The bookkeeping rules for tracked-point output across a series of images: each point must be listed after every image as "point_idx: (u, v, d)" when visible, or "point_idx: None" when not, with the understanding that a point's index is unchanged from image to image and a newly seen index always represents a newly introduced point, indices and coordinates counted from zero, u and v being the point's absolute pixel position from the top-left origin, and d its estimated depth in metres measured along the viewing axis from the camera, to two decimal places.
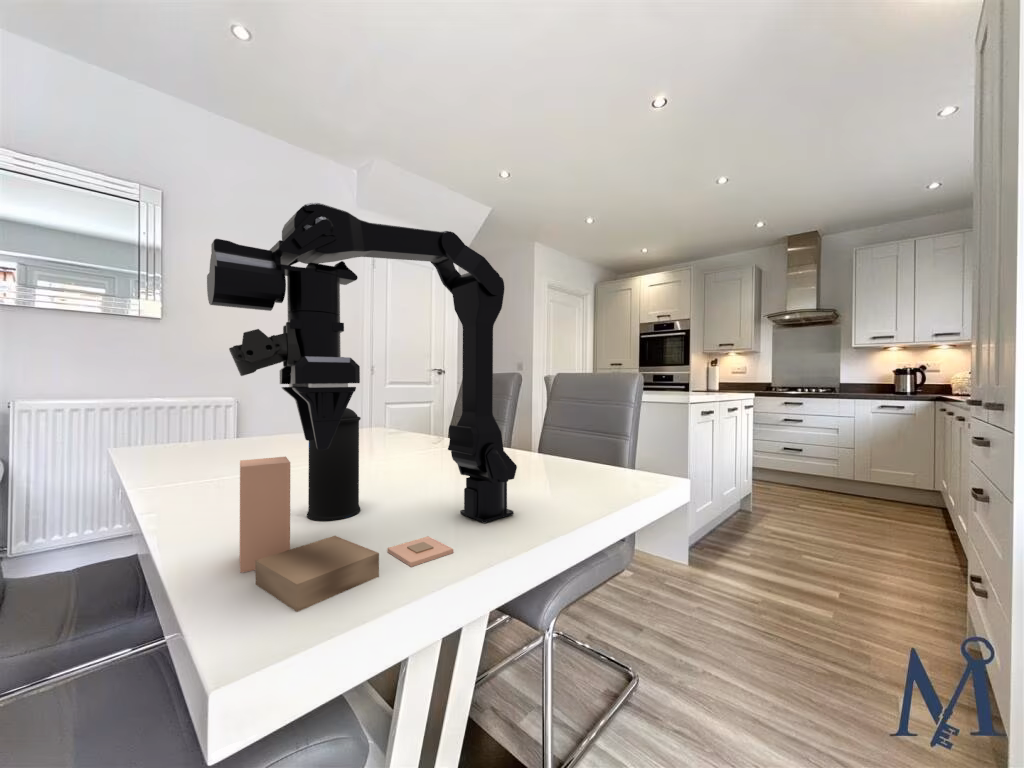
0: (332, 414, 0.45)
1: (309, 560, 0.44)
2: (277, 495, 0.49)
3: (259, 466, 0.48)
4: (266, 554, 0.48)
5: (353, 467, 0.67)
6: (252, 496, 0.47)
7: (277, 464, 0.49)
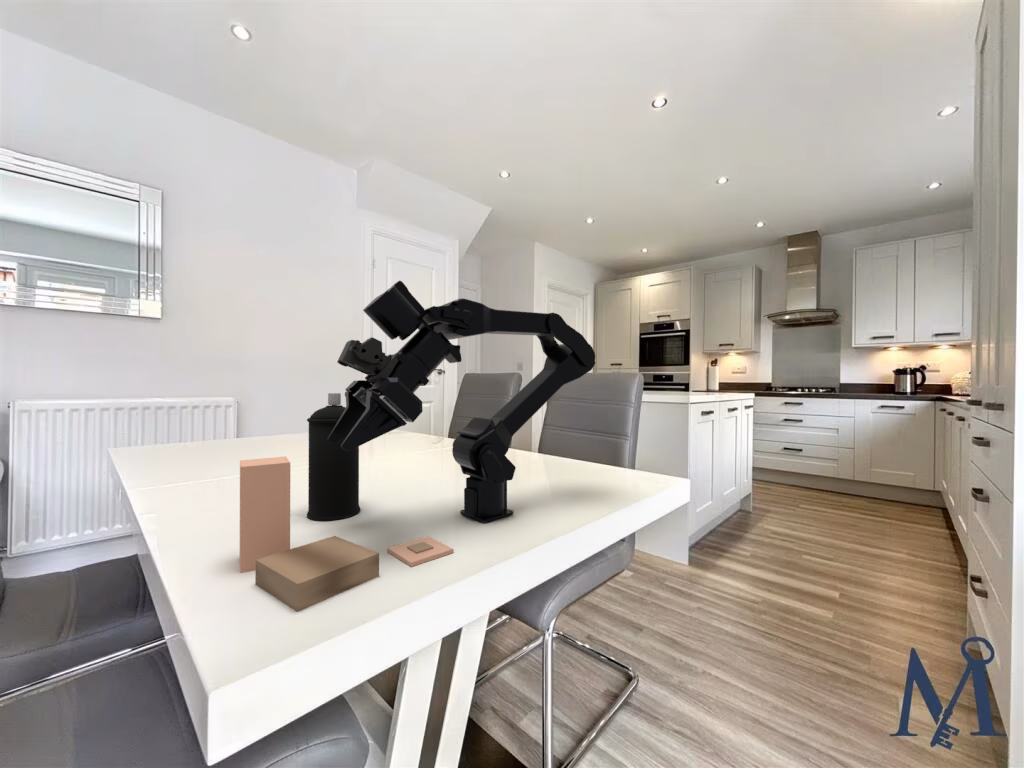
0: (374, 429, 0.52)
1: (310, 560, 0.44)
2: (277, 495, 0.49)
3: (259, 466, 0.48)
4: (266, 554, 0.48)
5: (353, 467, 0.67)
6: (252, 496, 0.47)
7: (277, 464, 0.49)
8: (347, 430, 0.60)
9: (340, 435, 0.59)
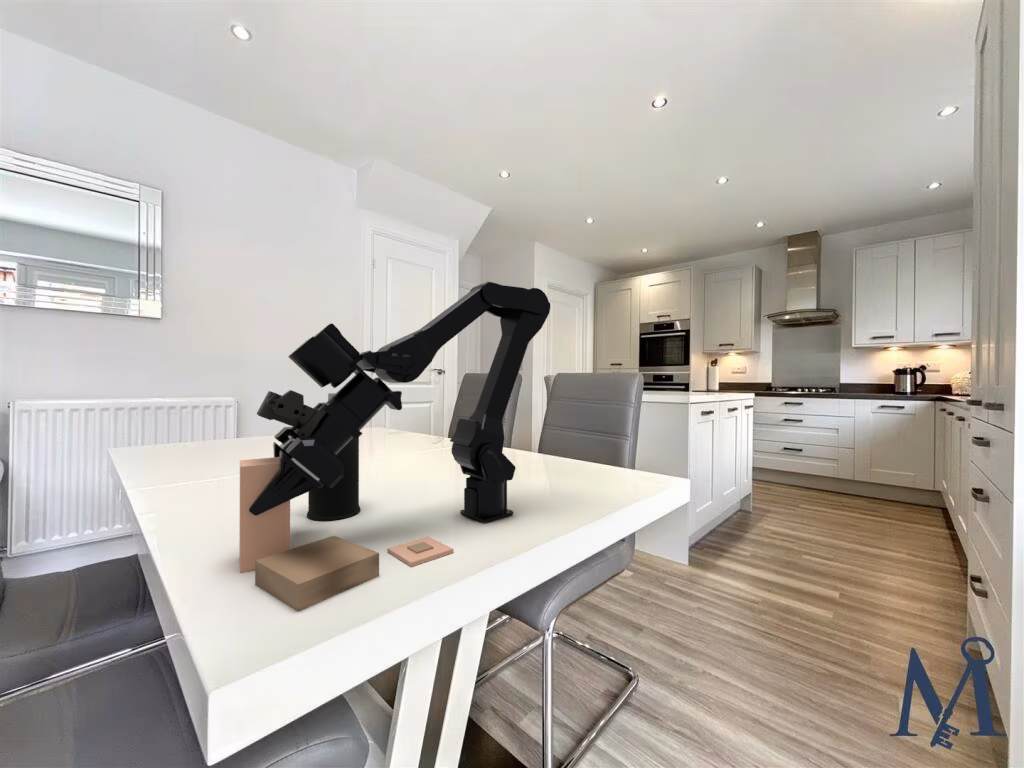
0: (286, 492, 0.48)
1: (310, 560, 0.44)
2: None
3: (259, 466, 0.48)
4: (266, 554, 0.48)
5: (353, 467, 0.67)
6: (252, 496, 0.47)
7: (277, 464, 0.49)
8: None
9: None
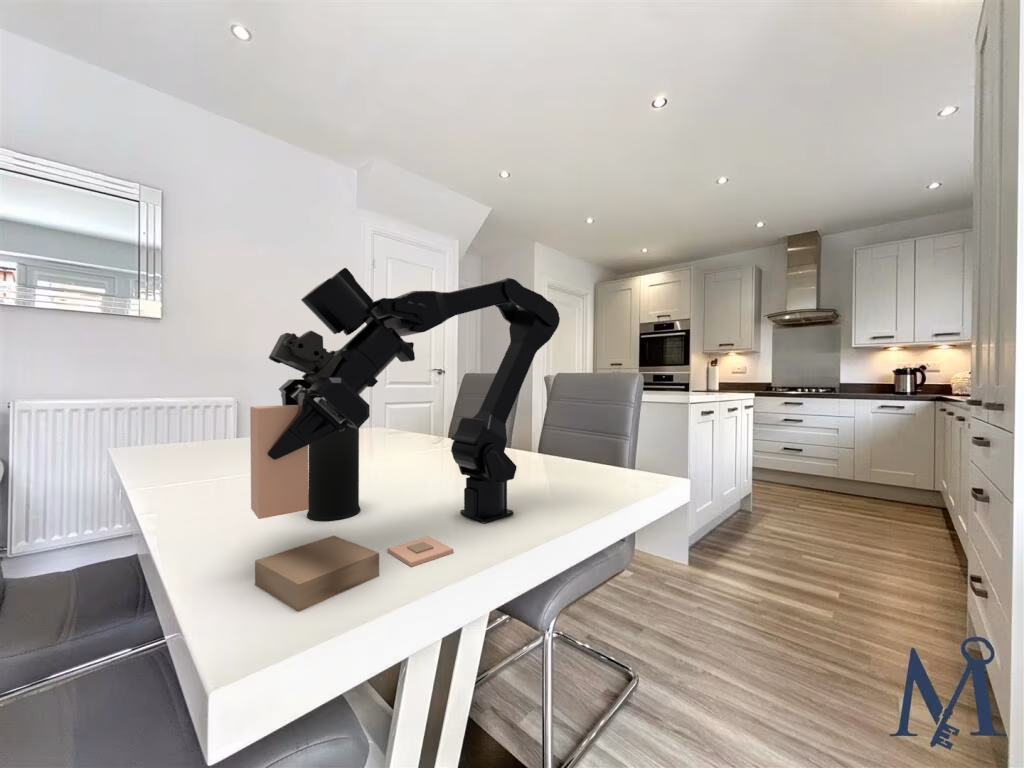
0: (306, 435, 0.47)
1: (310, 560, 0.44)
2: None
3: (276, 409, 0.46)
4: (285, 501, 0.46)
5: (353, 467, 0.67)
6: (270, 440, 0.45)
7: (294, 408, 0.47)
8: None
9: None
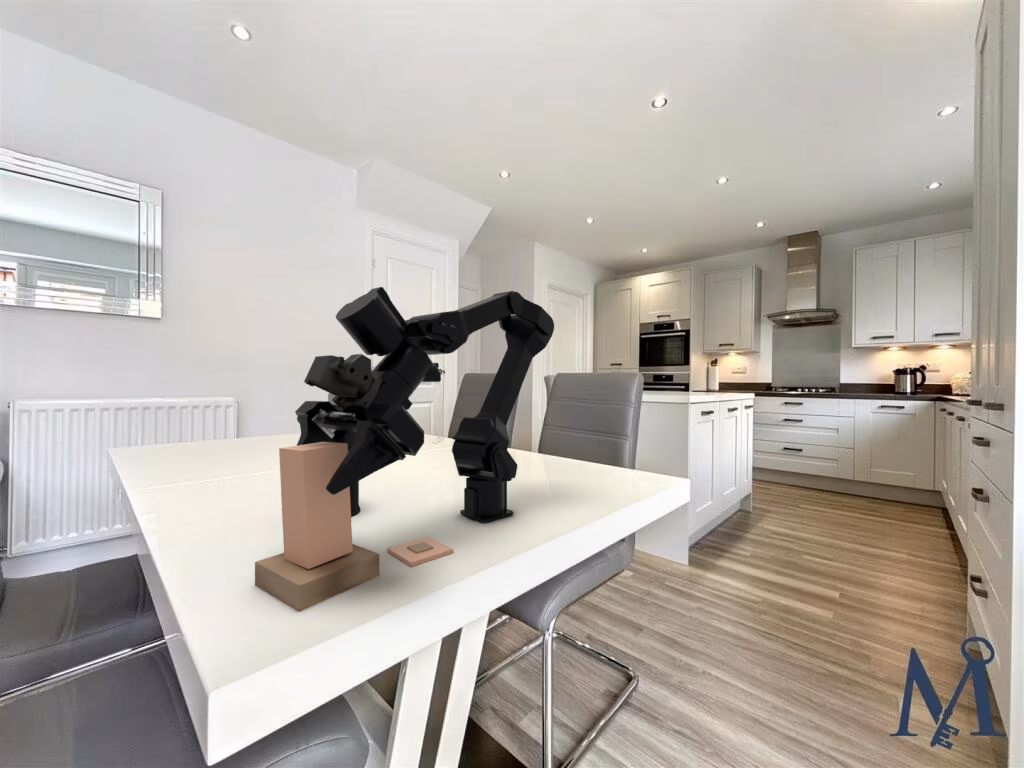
0: (366, 466, 0.43)
1: None
2: None
3: (320, 449, 0.43)
4: (331, 545, 0.44)
5: None
6: (315, 483, 0.43)
7: (336, 446, 0.45)
8: None
9: None
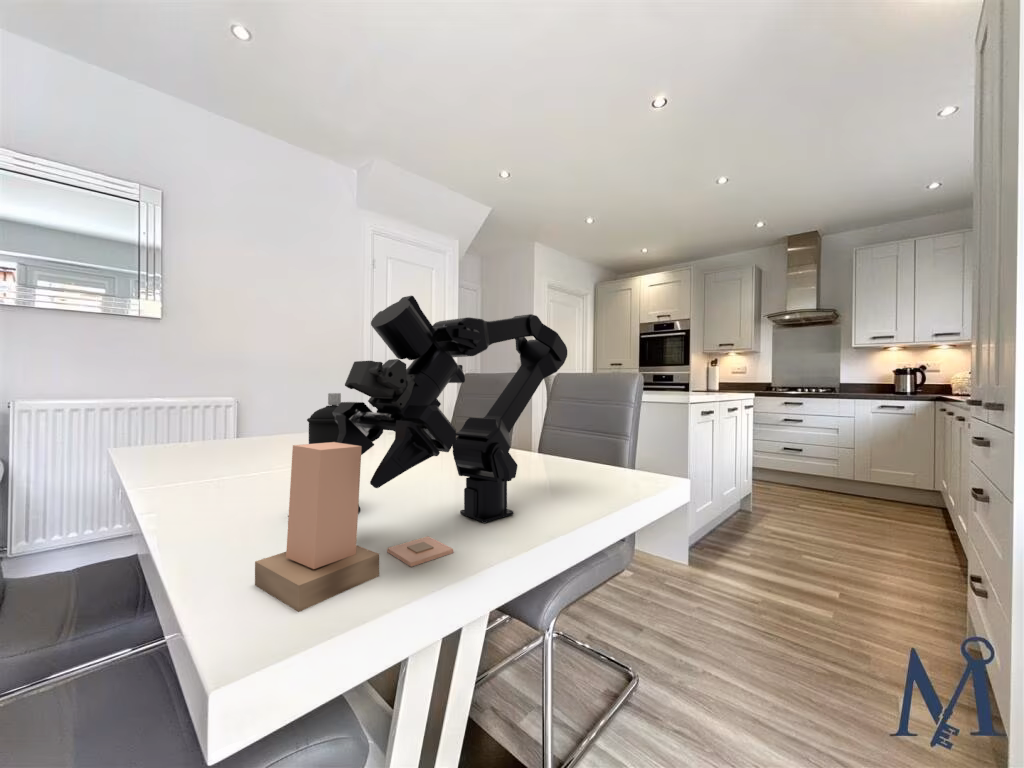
0: (405, 462, 0.47)
1: None
2: (349, 481, 0.45)
3: (336, 449, 0.44)
4: (337, 547, 0.44)
5: None
6: (329, 483, 0.43)
7: (351, 448, 0.45)
8: None
9: None
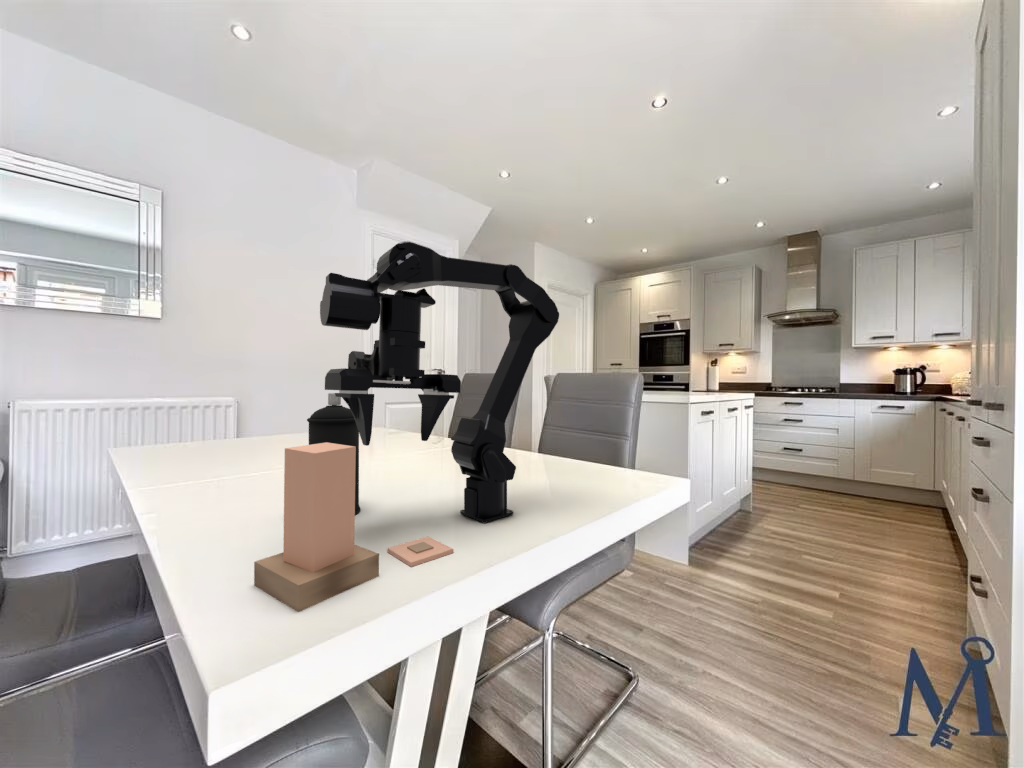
0: (361, 416, 0.54)
1: None
2: (344, 482, 0.44)
3: (330, 452, 0.43)
4: (335, 549, 0.44)
5: None
6: (324, 486, 0.42)
7: (345, 449, 0.44)
8: (427, 423, 0.62)
9: (425, 431, 0.62)
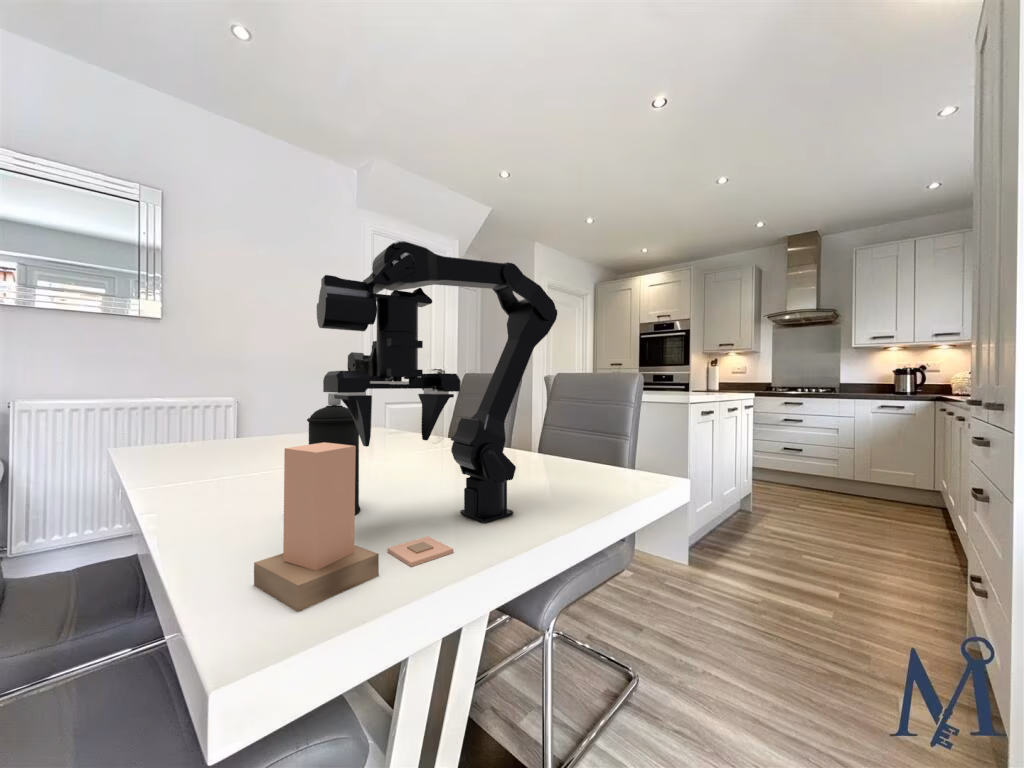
0: (359, 417, 0.54)
1: None
2: (345, 481, 0.45)
3: (332, 451, 0.43)
4: (336, 547, 0.44)
5: None
6: (326, 485, 0.43)
7: (345, 448, 0.45)
8: (427, 422, 0.62)
9: (425, 430, 0.62)
